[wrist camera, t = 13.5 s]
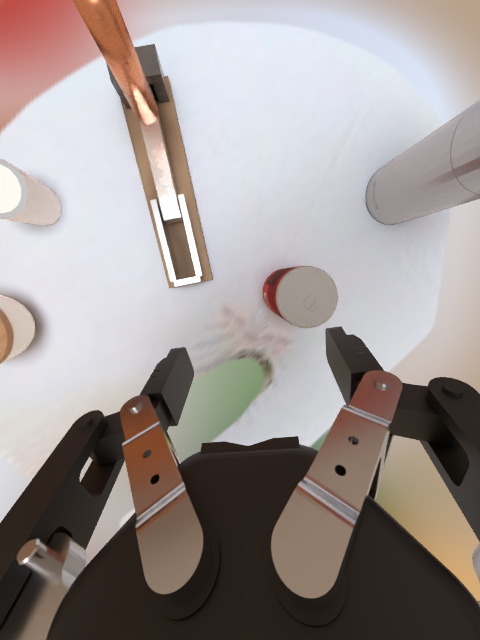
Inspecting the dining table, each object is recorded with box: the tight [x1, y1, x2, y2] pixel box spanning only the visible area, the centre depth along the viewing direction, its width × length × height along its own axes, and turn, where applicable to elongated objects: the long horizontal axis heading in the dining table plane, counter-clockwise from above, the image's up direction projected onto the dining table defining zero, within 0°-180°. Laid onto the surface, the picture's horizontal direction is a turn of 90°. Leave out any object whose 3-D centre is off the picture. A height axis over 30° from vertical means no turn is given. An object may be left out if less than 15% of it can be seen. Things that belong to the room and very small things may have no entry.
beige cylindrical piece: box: [0, 159, 61, 226], centre depth 31 cm, size 7×7×7 cm
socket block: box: [106, 44, 170, 109], centre depth 30 cm, size 6×3×4 cm, turn 101°
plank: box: [120, 76, 213, 288], centre depth 35 cm, size 7×28×1 cm, turn 11°
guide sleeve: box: [150, 194, 204, 286], centre depth 34 cm, size 5×12×3 cm, turn 11°
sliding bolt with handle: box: [73, 0, 184, 224], centre depth 25 cm, size 3×18×16 cm, turn 11°
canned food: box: [263, 266, 338, 328], centre depth 34 cm, size 8×8×11 cm
